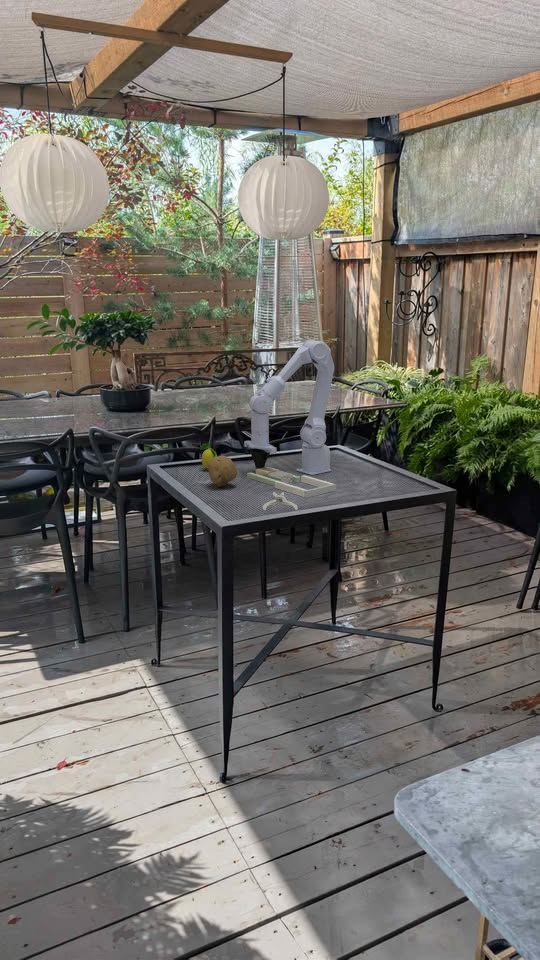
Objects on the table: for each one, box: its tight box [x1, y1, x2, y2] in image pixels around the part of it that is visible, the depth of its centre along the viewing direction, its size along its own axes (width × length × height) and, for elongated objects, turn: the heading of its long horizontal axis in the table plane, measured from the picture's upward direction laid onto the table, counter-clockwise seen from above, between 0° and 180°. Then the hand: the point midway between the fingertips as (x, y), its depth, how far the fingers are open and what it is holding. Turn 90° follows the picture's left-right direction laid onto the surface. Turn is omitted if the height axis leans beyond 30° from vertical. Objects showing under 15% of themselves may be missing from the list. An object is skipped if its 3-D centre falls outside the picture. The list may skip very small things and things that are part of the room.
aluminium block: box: [269, 470, 294, 484], centre depth 226 cm, size 5×6×3 cm
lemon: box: [199, 441, 218, 470], centre depth 240 cm, size 7×6×10 cm
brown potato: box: [207, 454, 238, 488], centre depth 219 cm, size 9×9×10 cm
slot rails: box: [246, 472, 301, 487], centre depth 229 cm, size 10×15×2 cm, turn 40°
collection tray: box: [274, 475, 337, 499], centre depth 218 cm, size 12×14×2 cm
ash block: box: [255, 466, 280, 478], centre depth 231 cm, size 5×6×3 cm
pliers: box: [262, 491, 299, 512], centre depth 203 cm, size 10×2×15 cm
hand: (260, 471), depth 234 cm, fingers closed
